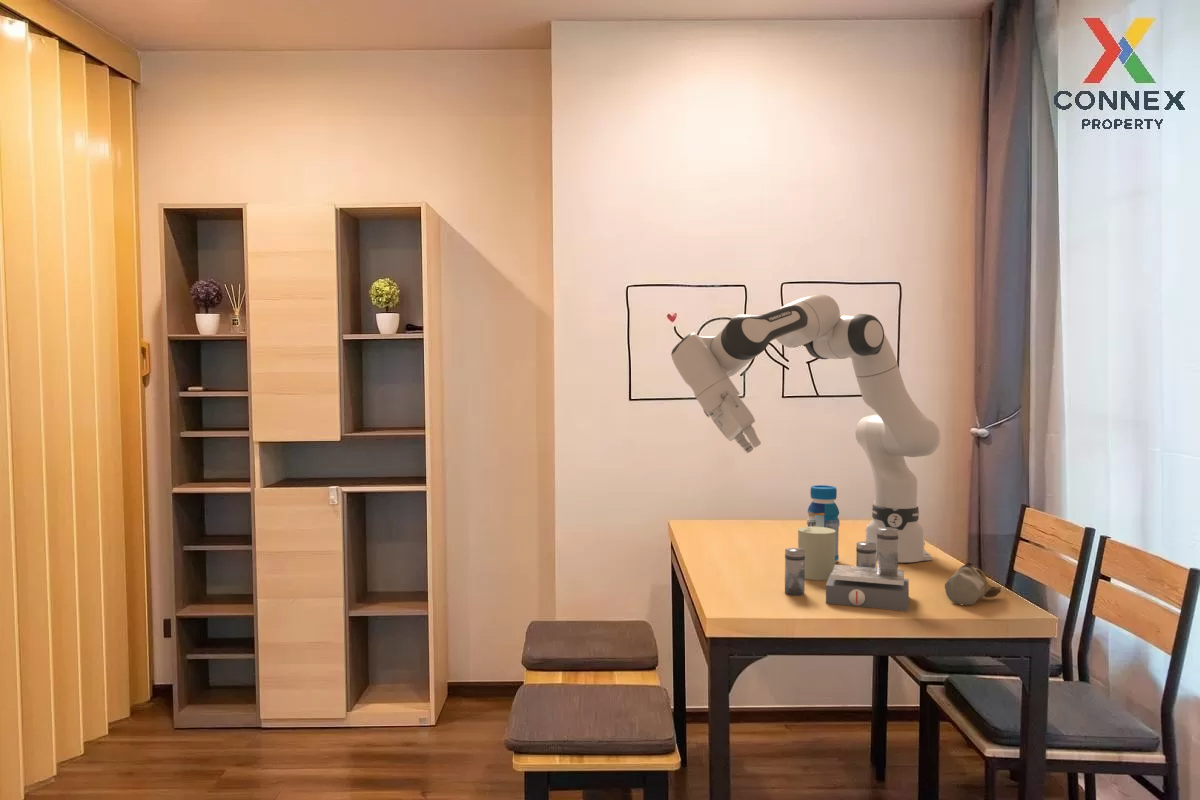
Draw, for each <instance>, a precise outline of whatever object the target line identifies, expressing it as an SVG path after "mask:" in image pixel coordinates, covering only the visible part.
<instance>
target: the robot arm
mask: <svg viewBox="0 0 1200 800" xmlns="http://www.w3.org/2000/svg"><path fill="white" fill-rule="evenodd" d="M774 340H776V341H777V342H778V343H779V344H780V345H782V346H784V347H786V348H790V349H791V348H797V347H801V346H804V347H805V349H806V351H807V352H808V353H809V355H810V356H812V357H813V358H816V359H821V360H829V359H831V360H846V359H849V358H850V359H851V363H852V366H853V371H854V374H855V378H856V381H857V384H858V387H859V391H860V395H861V397H862V399H863V401H864V403H865V404H866V405H867V406H868V407H869V408H871V409H872V410H873V411H874V412H875V413H876V414H871V415H866V416H864V417H862V418H861V419H860V420H859V421H858V422H857V425H856V427H855V431H854V432H855V440H856V442H857V444H858V445H859V446H860V447H861V448H862V450H864V452H865V454H866V457H867V458H868V460H869V463H870V467H871V471H872V476H873V498H874V499H873V504H872V505H871V506H872V508H871V513H872V514H871V518H872V520H871V521H870V522H869V523H867V525H866V528H865V533H866V534H865V542H872V543H875V544H876V560H877V528H879V527H891V528H896V529H898V563H916V562H917V563H918V562H923V561H932V560H933V556H932V555H931V554H930V553H929V552H928V551H927V550H926V549H925V545H926V542H925V529H924V528H923V526H922V525H921V524H920V523H919V519H920V518H919V515H920V511H919V506H918V479H917V476H916V475H915V473H913V472H912V470H911V469H910V468H909V466H908V465H907V462H906V460H905V457H907V458H919V457H926V456H927V457H928V456H931V455H932V454H934V453H935V452H936V450H937V449H938V447H939V445H940V443H941V433H940V429H939V427H938V425H937V424H936V423H935V422H934V421H933V420H931V419H930V418H929V417H927V416H926V415H925V414H924V413H923V412H922V411H921V410H920V409H919V407H918V406H917V404H916V403H915V402H914V401H913V399H912V398H911V395H910V394H909V392H908V390H907V388H906V386H905V383H904V380H903V377H902V374H901V371H900V368H899V365H898V361H897V359H896V356H895V353H894V350H893V348H892V345H891V344H890V341H889V340H888V338H887V336H886V334H885V330H884V326H883V324H882V323H881V321H880V320H879V319H878V318H877V317H876V316H874V315H871V314H868V313H858V314H846V315H845V314H844V315H841V311H840V307H839V304H838V302H837V301H836V300H835V299H834V298H833V297H831V296H829V295H827V294H813V295H809V296H806V297H802V298H798V299H796V300H794V301H792V302H789V303H787V304H785V305H782V306H781V307H780V308H778V309H774V310H772V311H769V312H765V313H762V314H758V315H756V314H738V315H736V316H733V317H732V318H731V319H730V320H729V321H728V322H727V324H726V325H725V326H724V327H723V329H722V330H721V331H719V333H717V335H714V336H702V335H698V334H697V333H696V332H691V333H689V334H688V335H686V336H685V337H684V338H682V339H681V340H680V341H679V342H678V343H677V344H676V345H675V346H674V347H673V349H672V351H671V352H670V353H671V354H670V355H671V360H672V361H673V364H674V367H675V368H676V370H677V371H678V373H679V375H680V376H681V377H682V379H683V381H684V382H685V383H686V384H687V385H688V386H689V387H690V388H691V390H692V391H693V394H694V397H695V398H696V399H695V400H696V401H698V403H699V404H700V406H701V407H702V410H703V412H704V414H705V416H706V417H707V418H711V420H712V422H713V423H714V424H715V426H716V427H717V428H718V430H719V431H720V432H721V433H722V435H724V437H725V438H726V439H727V440H728V441H731V442H732V441H733V440H734V441H735V442H736V443H737V445H739V446H740V447H741V448H742V450H743V451H744V452H745V453H746V454H749V453H751V452H752V451H753V450H754V449H755V448H757V447H759V446H760V445H761V444H762V443H761V440H760V439H759V438H758V435H757V433H756V430H755V429H754V427H753V424H754V423H755V422H756V420H755V417H754V415H753V414H752V411H750V410H749V408H748V407H747V405H746V403H744V401H743V400H742V399H741V398H740V396H739V395H740V394H741V393H740V391H739V390H738V388H736V386H735V384H734V383H733V381H732V379H731V378H730V377H733V376H735V375H736V374H737V373H738V372H740V371H741V370H742V369H743V368H744V367H745V366H747V364H749V363H750V362H751V361H752V360H754V358H756V357H757V356H759V355H760V354H761V353H763V352H764V351H765V350H766V348H767V347H768V345H769V344H770V343H771V342H772V341H774Z"/></svg>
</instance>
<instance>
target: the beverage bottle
mask: <svg viewBox="0 0 1200 800" xmlns="http://www.w3.org/2000/svg"><path fill="white" fill-rule="evenodd" d="M837 491H838V490H837V487H836V486H833V485H827V484H826V485H825V484H820V485H819V484H818V485H817V484H816V485H811V486H810V499H811V500H812V501H811V503H809V506H808V508H807V514H808V517H807V519H806V525H807V527H826V528H831V529H834V530H835V531H836V533H835V564H836V563H838V562H839V559H840V558H839V527H840V524H841V523H840V519H839V514H840V510H839V507H838V506H837V505H838V504H836V502H835V501H836V500H837V497H838V496H837V495H838V494H837Z"/></svg>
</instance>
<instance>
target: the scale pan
mask: <svg viewBox="0 0 1200 800" xmlns="http://www.w3.org/2000/svg"><path fill="white" fill-rule="evenodd" d="M831 579H835V580H846V581H858V582H869V583H881V584H892V585H904V579H905V570H904V569H898V575H897V576H881V575H878V574H877V567H876V568H871V567H859V566H856V565H845V564H835V566H834V569H833V571H832V574H831Z"/></svg>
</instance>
